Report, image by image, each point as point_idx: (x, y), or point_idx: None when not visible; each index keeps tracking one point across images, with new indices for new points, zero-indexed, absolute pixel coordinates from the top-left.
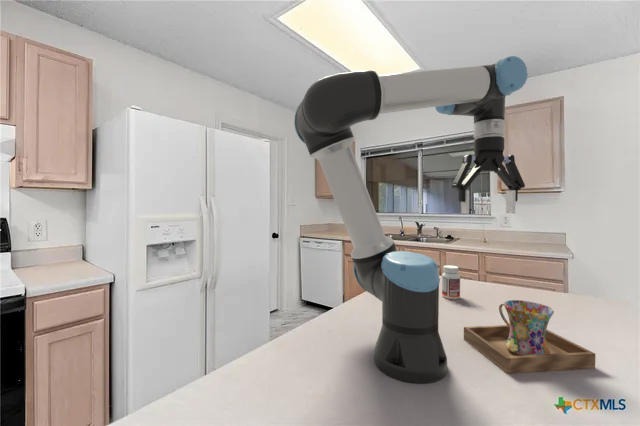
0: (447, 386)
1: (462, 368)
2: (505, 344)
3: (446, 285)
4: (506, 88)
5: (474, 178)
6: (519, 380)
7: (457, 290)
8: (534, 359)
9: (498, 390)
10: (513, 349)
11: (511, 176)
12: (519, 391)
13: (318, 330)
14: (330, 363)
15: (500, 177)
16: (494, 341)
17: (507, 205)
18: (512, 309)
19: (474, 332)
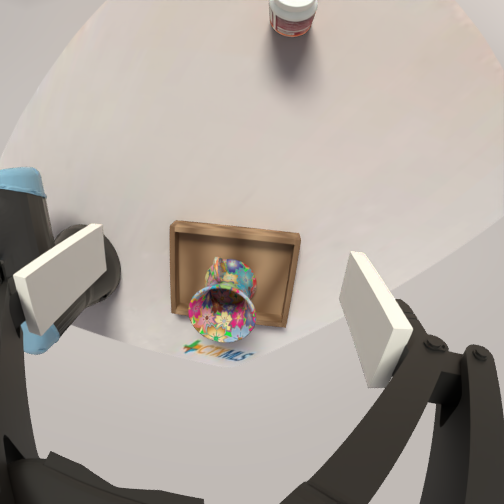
0: (109, 304)
1: (135, 284)
2: (208, 269)
3: (271, 16)
4: None
5: (24, 399)
6: (180, 315)
7: (296, 31)
8: None
9: (150, 321)
10: (205, 286)
11: (460, 437)
12: (168, 326)
13: (15, 165)
14: None
15: (350, 437)
16: (210, 245)
17: (358, 283)
18: (189, 317)
19: (174, 246)
